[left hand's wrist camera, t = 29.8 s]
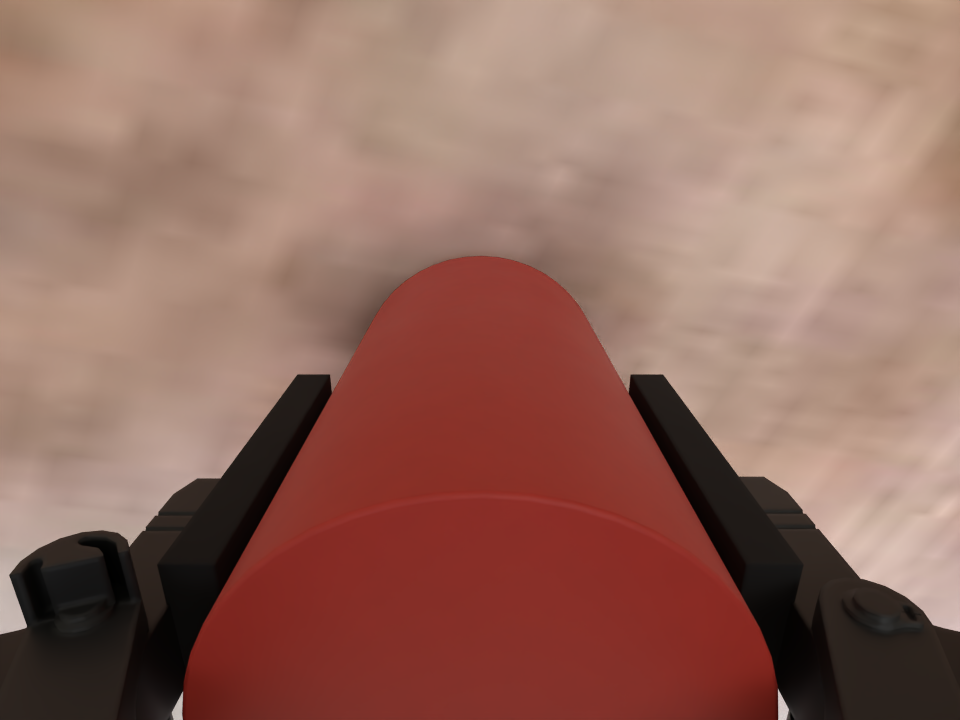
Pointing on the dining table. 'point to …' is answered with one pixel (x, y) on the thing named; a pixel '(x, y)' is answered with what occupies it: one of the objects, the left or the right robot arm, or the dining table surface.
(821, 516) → the dining table surface
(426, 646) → the can
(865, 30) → the dining table surface
